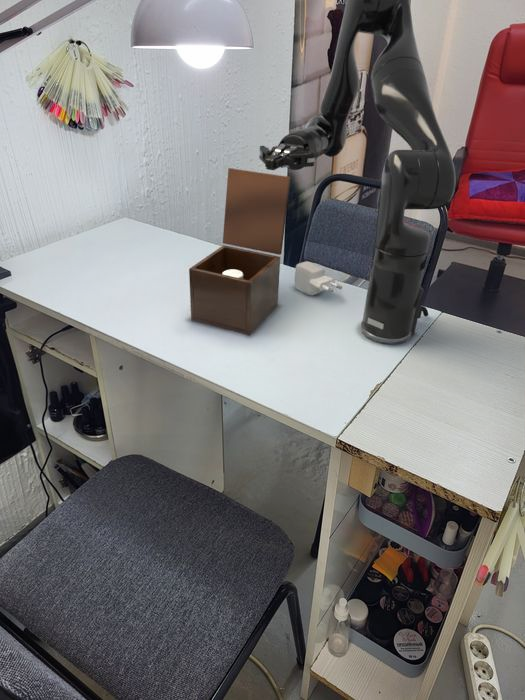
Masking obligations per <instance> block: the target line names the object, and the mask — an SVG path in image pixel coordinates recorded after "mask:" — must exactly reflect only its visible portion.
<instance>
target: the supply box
mask: <svg viewBox="0 0 525 700" xmlns="http://www.w3.org/2000/svg"><path fill="white" fill-rule="evenodd" d="M230 269H235V270H239V271H241V272H242V273H243V279H241V278H236V277H232V276H227V275H223V274H222V273H223V272H224V271H226V270H230ZM280 270H281V256H279V255H274V254H270V253H269V254H268V253H265V252H260V251H255V250H254V251H253V250H249V249H246V248H241V247H240V248H238V247H236V246H231V245H230V246H229V245H225V244H223V245H221V246H220V247H219V248H217V249H215V250H214V251H213V252H211V253H210V254H208V255H207V256H206V257H204V258H203V259H201V260H200V261H198V262H197V263H195V264H194V265H192V266H191V267H190V268H188V275H189V276H188V279H189V299H190V321H193V322H197V323H200V324H204V325H209V326H213V327H216V328H219V329H224V330H227V331H231V332H235V333H238V334H242V335H246V336H250V335H252V333H254V331H256V329H258V328H259V326H260V325H261V324H262V323H263V322H264V321H265V320H266V318H267V317H269V316H270V314H271V313H273V311H275V309H276V308H277V307H278V305H279V288H280V272H281V271H280Z"/></svg>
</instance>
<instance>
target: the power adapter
mask: <svg viewBox="0 0 525 700" xmlns="http://www.w3.org/2000/svg"><path fill="white" fill-rule="evenodd" d="M325 272H326V270H325V268H323V266H320V265H318V264H316V263H313V262H312V261H308V260H307V261H302V262H299V263H297V264H296V265H295V269H294V288H295V289H297V290H299V291H300V292H302V293H304V294H306V295H309V296H314V295H315V296H316V295H318V294H320V293H322V291H325V290H326V291H327V292H330V293H331V294H333V293H334V292H335V290H334V289H333V287H334V288H337V289H339V290H342V289H343V286H342V285H340V284H337V283H336V280H335V279H334V278H333V277H331V276H327V275H326V274H325Z"/></svg>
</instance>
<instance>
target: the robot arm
mask: <svg viewBox="0 0 525 700" xmlns="http://www.w3.org/2000/svg"><path fill="white" fill-rule="evenodd" d="M412 17H413V16H412V8H411V1H410V0H346V3H345V7H344V11H343V17H342V21H341V25H340V29H339V34H338V37H337V43H336V48H335V52H334V59H333V64H332V68H331V72H330V76H329V79H328V82H327V85H326V88H325V90H324V93H323V96H322V99H321V102H320V106H319V112H320V115H314V116H312V117H310V119H309V120H308V121H307V123H306V125H305V127H304V128H300V129H298V130H295V131H292V132H291V133H289V134H286V135H285V136H284V137H282V138H281V140H280V141H279V143H278V145H275V146H272V147H271V149H269V147H267V146H265V145H260V146H259V159H260V161H261V162H262V163H263V164H264V166H265V169H266V170H267V171H268V170H269V171H275V170H277V169H284V168H286V169H289V170H290V171H299V170H301V169H304V168H309V167H310V168H312V167H314V166H315V162H316V159H318V158H319V157H321V156H323V155H325V156H327V157H329V158H333V157H336V156H338V155H339V154H340V153H341V152H342V151H343V149H344V147H345V145H346V141H347V135H348V134H347V133H348V124H349V117H350V113H351V110H352V109H353V106H354V104H355V101H356V98H357V96H358V93H359V89H360V75H359V69H358V65H357V62H356V55H355V45H356V39H357V36H358V34H359V33H362V34H367V35H372V36H373V35H374V36H381V37H383V38H384V39H385V40H386V43H387V44H386V46H385V47H384V49H383V50H382V51H381V53H380V54H379V55H378V57H377V59H376V60H375V62H374V64H373V66H372V70H371V72H370V87H371V92H372V97H373V100H374V101H373V102H374V106H375V109H376V111H377V113H378V115H379V116H380V118H381V119H382V120H383V121H384V122H385V124H387V126H388V127H389V128H391V129H392V130H393V131H394V132H395V133H396V134H397V135H398V136H399V137H401V139H402V140H404V142H406V143H407V144H408V146H409V147H410V149H395V150H393V151H391V152H390V153H389V154H388V155H387V157H386V159H385V162H384V165H383V168H382V174H381V180H380V190H379V191H380V192H379V193H380V194H379V201H378V210H377V216H376V217H377V218H376V228H375V229H376V231H375V239H374V245H373V254H372V259H371V265H370V272H369V278H368V285H367V290H366V297H365V303H364V308H363V309H364V310H363V316H362V321H361V325H360V331H361V333H362V334H363V336H365V337H366V338H368V339H369V340H372V341H374V342H376V343H381V344H385V345H386V344H387V345H397V344H402V343H405V342H407V341H408V340H410V338H411V336H414V335H415V333H416V328H417V324H418V320H420V319H421V317H422V314H423V316H424V317H427V318H428V316H429V311H428V309H427V307H425V306H424V305H422V301H423V297H424V292H425V291H424V288H423V287H422V282H423V278H424V275H425V274H424V273H425V269H426V264H427V260H428V255H429V250H430V247H431V239H432V237H431V234H430V233H429V231H428V230H426V229H425V228H423V227H422V226H419V225H417V224H414V223H411V222H409V221H407V220H406V219H405V210H436V209H442V208H443V207H446V206H447V205H448V204H449V203H450V202H451V201H452V199H453V197H454V194H455V189H456V182H457V181H456V179H457V178H456V177H457V176H456V167H455V164H454V161H453V160H454V159H453V157H452V154H451V151H450V149H449V145H448V144H447V141H446V139H445V137H444V134H443V132H442V129H441V127H440V124H439V122H438V119H437V117H436V113H435V110H434V107H433V103H432V99H431V95H430V90H429V87H428V82H427V78H426V74H425V70H424V66H423V64H422V61H421V57H420V54H419V50H418V46H417V41H416V37H415V32H414V25H413V18H412Z"/></svg>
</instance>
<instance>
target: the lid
mask: <svg viewBox="0 0 525 700" xmlns="http://www.w3.org/2000/svg"><path fill="white" fill-rule="evenodd" d="M291 178H292V177H291V176H287V175H280V174H273V173H266V172H260V171H259V172H258V171H254V170H246V169H241V168H240V169H239V168H233V167H228V169H227V180H226V194H225V195H226V196H225V205H224V206H225V208H224V220H223V233H222V234H223V235H222V244H223V245H228V246H229V245H230V246H233V247H240V248H243V249H248V250H249V249H250V250H254V251H258V252H263V253H269V254H272V255H274V254H275V255H277V256H279V255H282V254H283V253H282V252H283V245H284V244H283V243H284V236H285V228H286V227H285V226H286V218H287V211H288V203H289V195H290V188H291V187H290V185H291Z"/></svg>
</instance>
